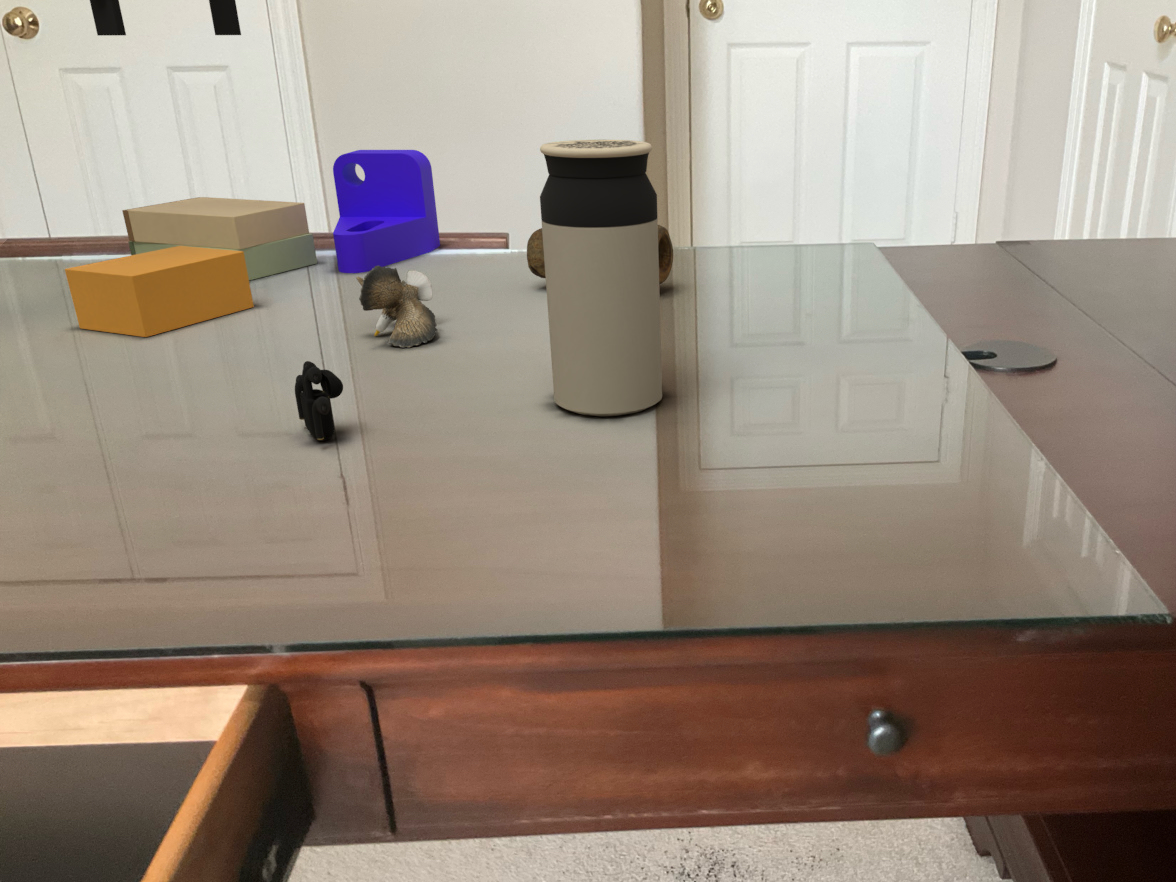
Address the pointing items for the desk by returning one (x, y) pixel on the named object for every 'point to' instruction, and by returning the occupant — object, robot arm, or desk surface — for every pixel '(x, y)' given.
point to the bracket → (383, 209)
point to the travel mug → (602, 276)
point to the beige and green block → (227, 231)
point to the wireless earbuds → (317, 400)
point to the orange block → (159, 290)
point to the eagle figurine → (399, 304)
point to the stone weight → (538, 265)
